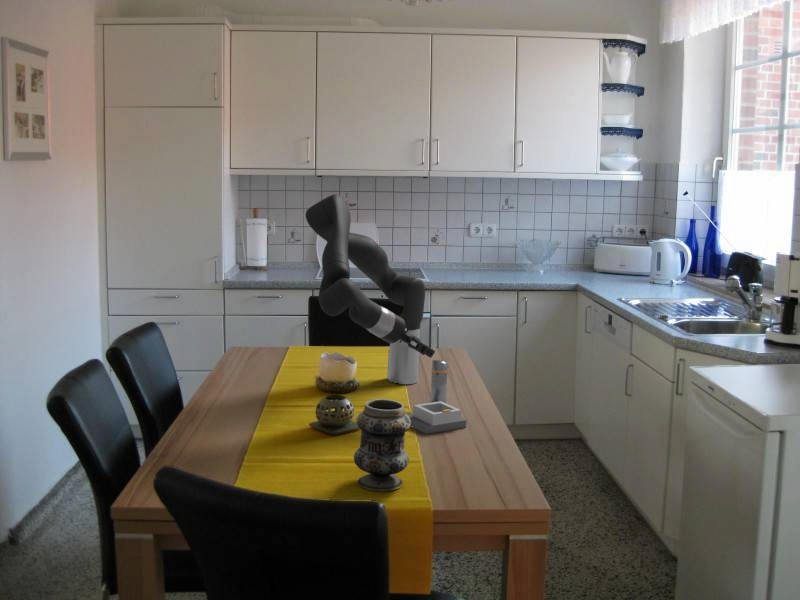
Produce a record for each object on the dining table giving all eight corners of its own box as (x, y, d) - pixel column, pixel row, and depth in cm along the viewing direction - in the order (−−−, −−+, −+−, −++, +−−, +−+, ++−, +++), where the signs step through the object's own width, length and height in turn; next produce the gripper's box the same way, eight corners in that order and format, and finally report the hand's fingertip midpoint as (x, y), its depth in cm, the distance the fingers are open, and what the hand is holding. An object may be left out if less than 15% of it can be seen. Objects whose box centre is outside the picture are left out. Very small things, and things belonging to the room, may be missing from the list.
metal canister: (426, 408, 250) (428, 360, 248) (439, 406, 253) (442, 358, 250) (435, 412, 247) (438, 364, 244) (449, 410, 249) (451, 362, 247)
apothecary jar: (418, 488, 191) (422, 408, 188) (370, 497, 185) (374, 415, 182) (389, 470, 201) (392, 393, 198) (342, 478, 195) (345, 399, 192)
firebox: (402, 422, 237) (403, 402, 236) (441, 416, 244) (442, 396, 243) (425, 434, 228) (427, 413, 227) (466, 427, 235) (467, 407, 234)
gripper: (363, 326, 239) (404, 349, 248) (389, 345, 227) (430, 370, 237) (378, 302, 239) (418, 327, 248) (405, 321, 227) (445, 346, 237)
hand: (424, 348), depth 243 cm, fingers open, 8 cm apart
